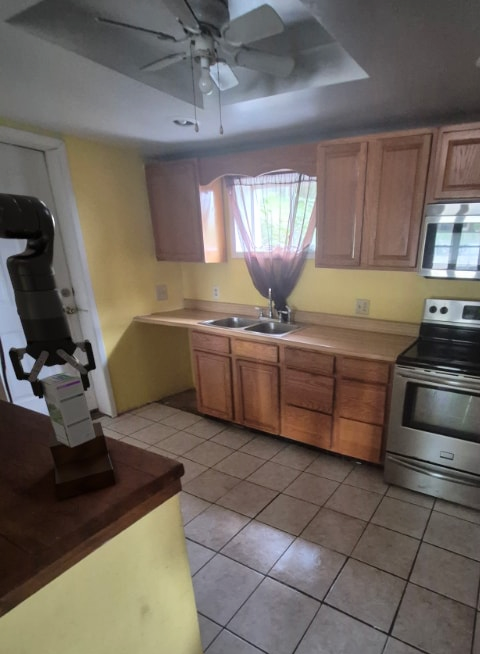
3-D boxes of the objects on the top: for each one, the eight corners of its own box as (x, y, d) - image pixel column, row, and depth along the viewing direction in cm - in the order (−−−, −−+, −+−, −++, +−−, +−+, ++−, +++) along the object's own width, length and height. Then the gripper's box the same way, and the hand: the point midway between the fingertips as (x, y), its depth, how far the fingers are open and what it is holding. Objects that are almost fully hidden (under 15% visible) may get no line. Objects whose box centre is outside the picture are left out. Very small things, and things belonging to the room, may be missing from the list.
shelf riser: (60, 499, 80) (49, 464, 76) (58, 464, 92) (49, 432, 88) (116, 483, 85) (108, 449, 81) (107, 452, 97) (100, 421, 94)
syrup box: (96, 437, 82) (82, 375, 76) (70, 449, 77) (53, 384, 72) (81, 430, 85) (67, 370, 79) (55, 441, 80) (37, 378, 74)
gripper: (84, 307, 77) (100, 382, 83) (-2, 313, 70) (23, 394, 76) (87, 313, 71) (104, 393, 77) (-7, 320, 64) (20, 407, 70)
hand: (63, 393), depth 77 cm, fingers closed on syrup box, 7 cm apart
